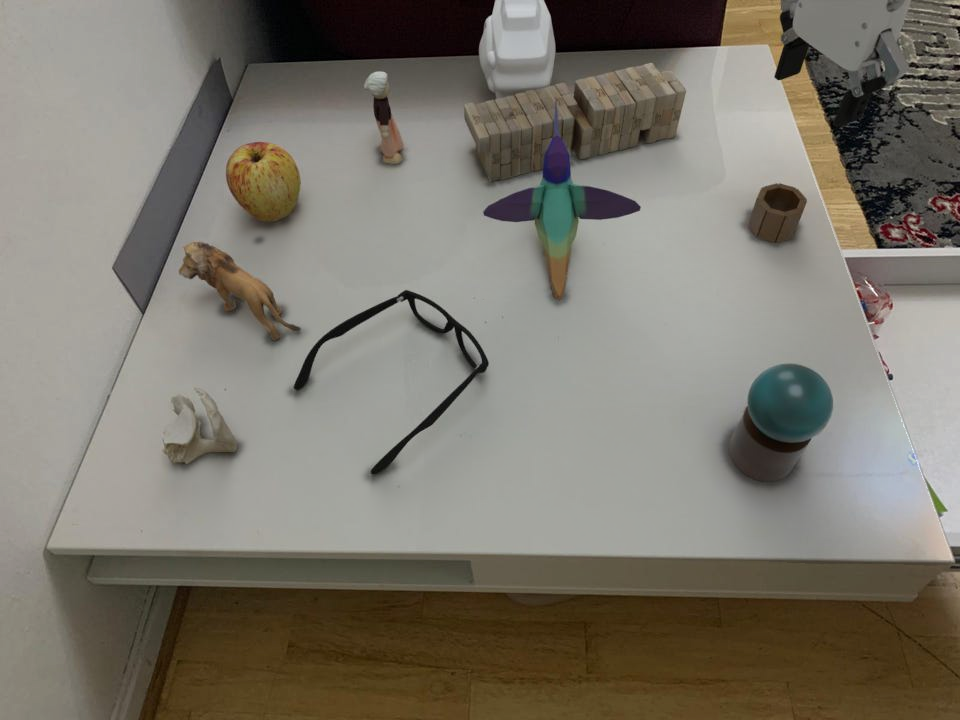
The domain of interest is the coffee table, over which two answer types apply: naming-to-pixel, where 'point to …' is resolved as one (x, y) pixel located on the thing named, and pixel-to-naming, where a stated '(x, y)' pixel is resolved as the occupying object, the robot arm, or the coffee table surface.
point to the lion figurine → (232, 283)
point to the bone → (195, 431)
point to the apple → (263, 180)
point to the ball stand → (780, 421)
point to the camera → (517, 47)
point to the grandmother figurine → (385, 117)
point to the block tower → (575, 119)
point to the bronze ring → (777, 212)
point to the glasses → (449, 326)
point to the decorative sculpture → (559, 209)
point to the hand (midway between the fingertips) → (815, 98)
